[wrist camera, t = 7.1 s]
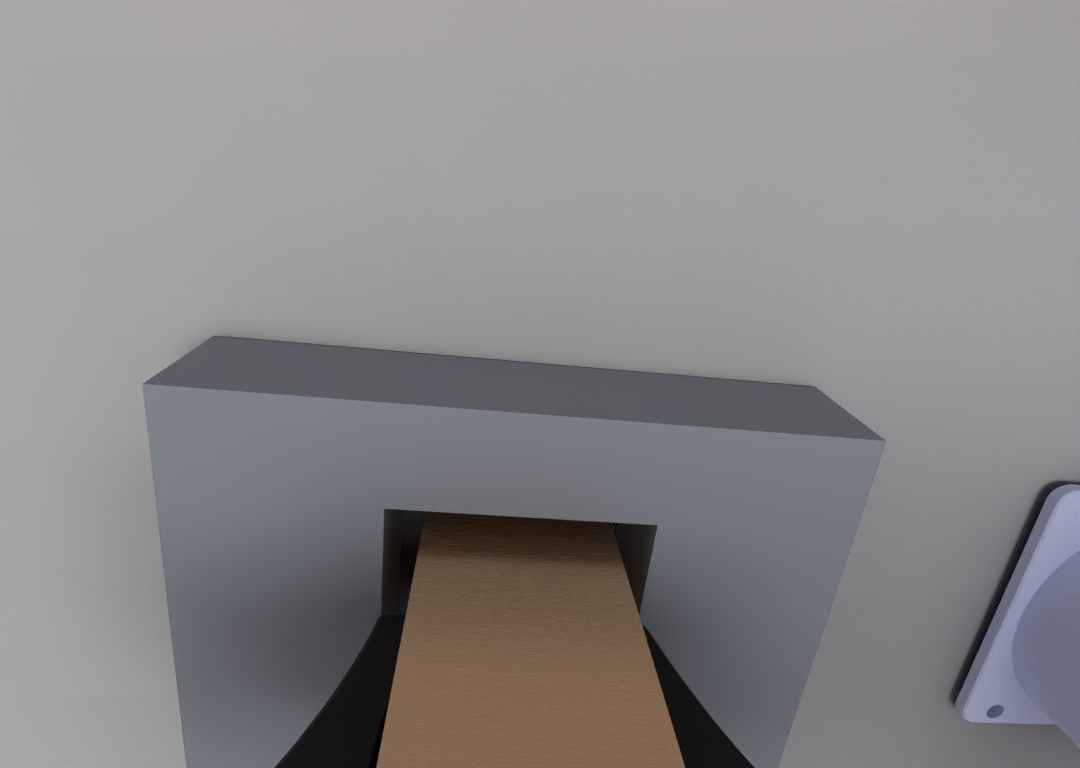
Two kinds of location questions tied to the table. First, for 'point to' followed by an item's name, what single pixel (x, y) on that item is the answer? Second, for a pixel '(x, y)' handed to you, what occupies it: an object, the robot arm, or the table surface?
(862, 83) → the table surface
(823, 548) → the board with square hole
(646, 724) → the brown wooden block
